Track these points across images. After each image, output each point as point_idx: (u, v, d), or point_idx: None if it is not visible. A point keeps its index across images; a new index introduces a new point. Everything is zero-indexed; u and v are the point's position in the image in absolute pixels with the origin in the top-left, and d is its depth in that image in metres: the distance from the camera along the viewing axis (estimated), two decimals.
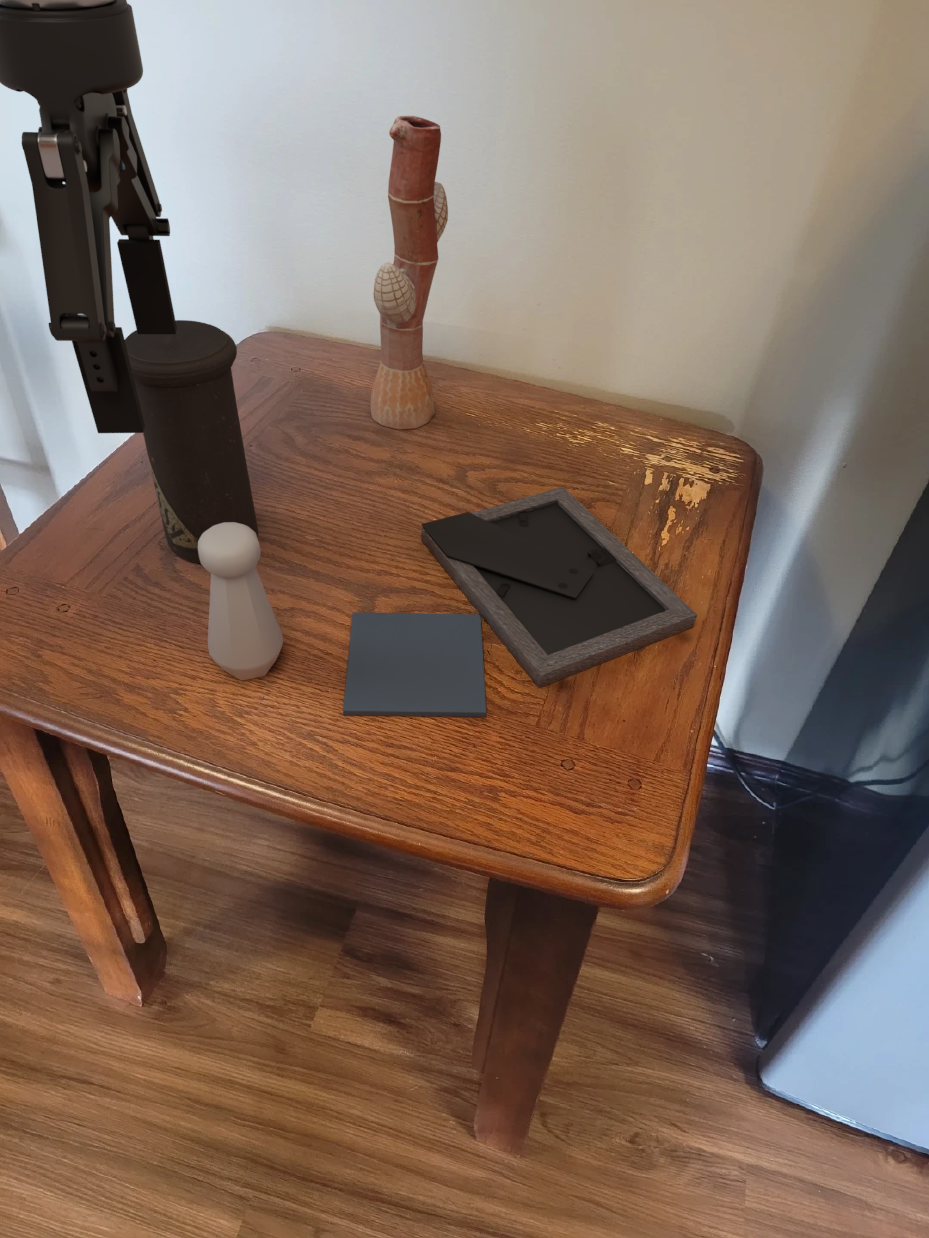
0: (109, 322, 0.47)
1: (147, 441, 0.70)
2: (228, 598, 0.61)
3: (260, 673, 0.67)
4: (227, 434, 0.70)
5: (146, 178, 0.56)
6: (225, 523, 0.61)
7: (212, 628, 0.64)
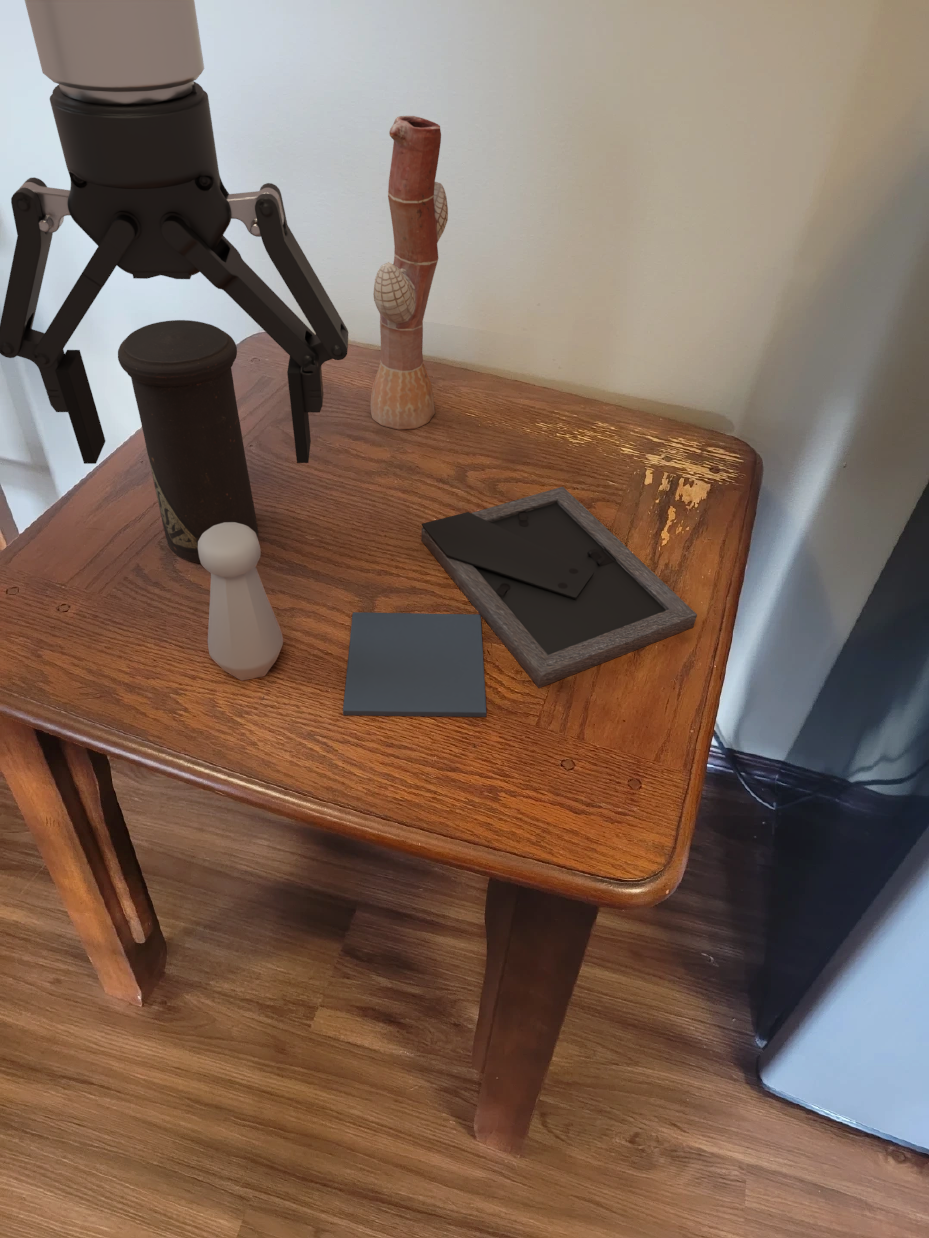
0: None
1: (147, 441, 0.70)
2: (228, 598, 0.61)
3: (260, 673, 0.67)
4: (227, 434, 0.70)
5: (39, 290, 0.50)
6: (225, 523, 0.61)
7: (212, 628, 0.64)
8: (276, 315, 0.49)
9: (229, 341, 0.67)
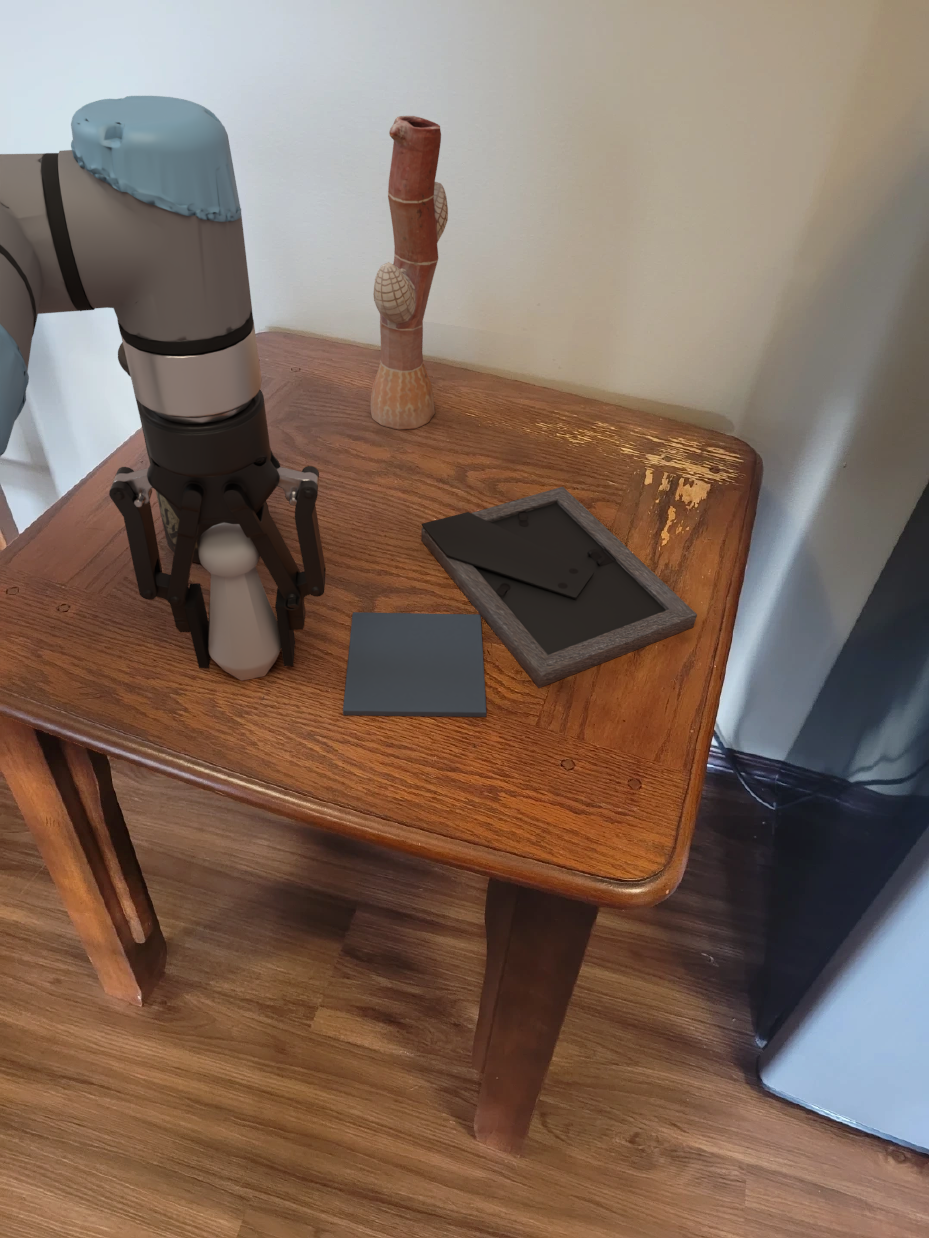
0: None
1: None
2: (228, 598, 0.61)
3: (260, 673, 0.67)
4: None
5: (156, 541, 0.61)
6: (225, 523, 0.61)
7: (212, 628, 0.64)
8: (283, 564, 0.60)
9: None
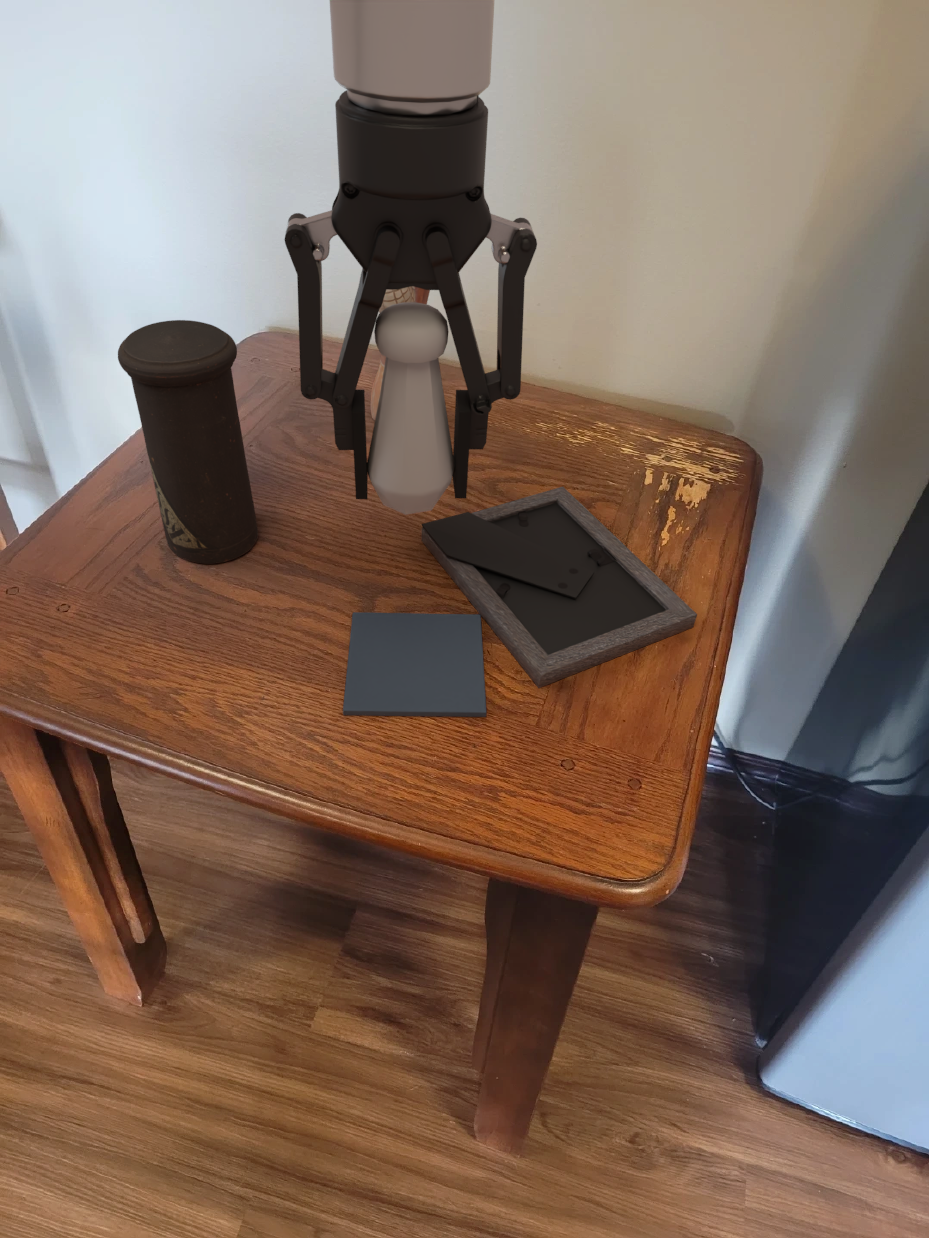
0: None
1: (147, 441, 0.70)
2: (407, 396, 0.51)
3: (428, 505, 0.56)
4: (227, 434, 0.70)
5: None
6: (406, 302, 0.50)
7: (380, 442, 0.53)
8: (477, 350, 0.50)
9: (229, 341, 0.67)
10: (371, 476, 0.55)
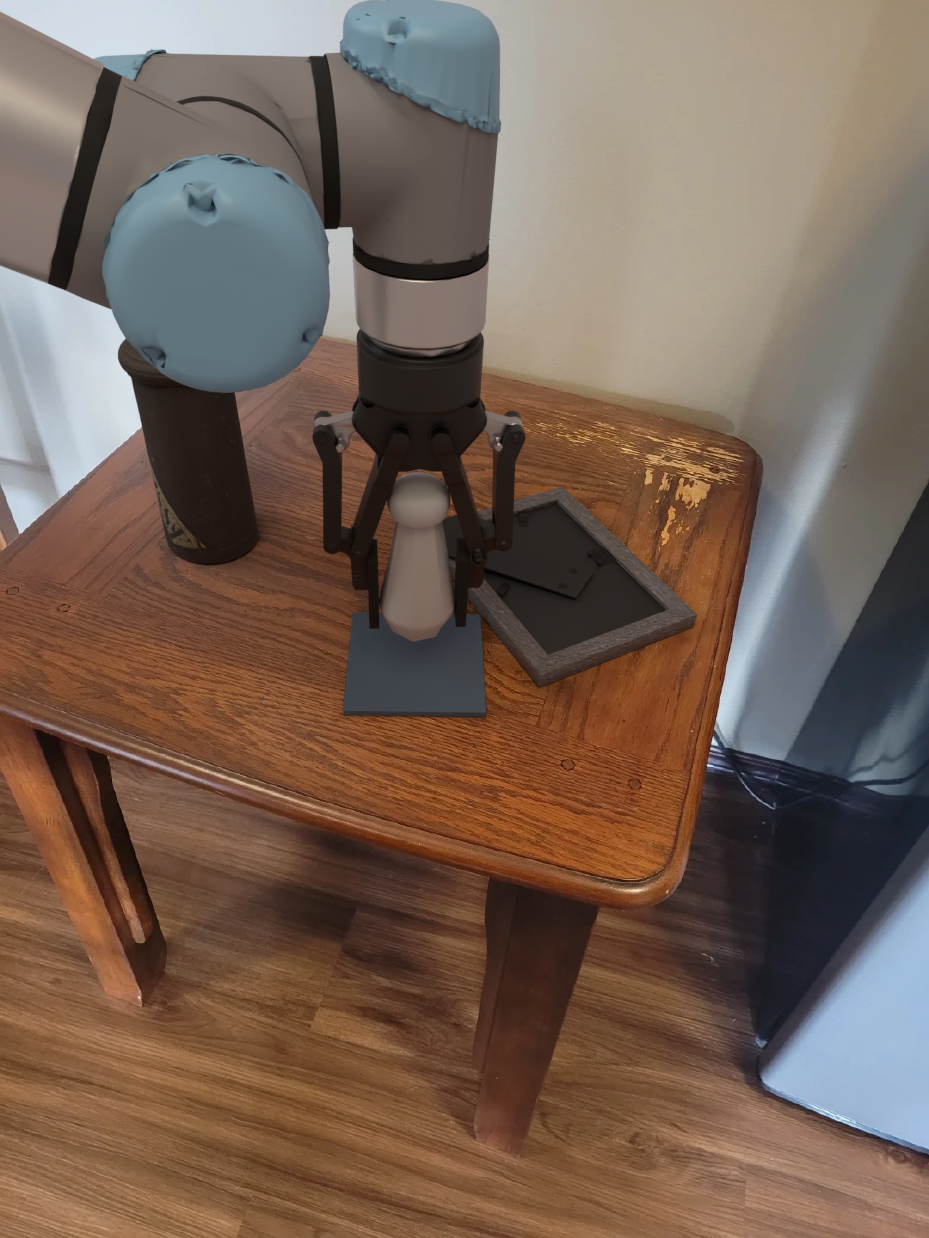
0: None
1: (147, 441, 0.70)
2: (415, 551, 0.59)
3: (432, 634, 0.64)
4: (227, 434, 0.70)
5: None
6: (414, 473, 0.58)
7: (391, 585, 0.61)
8: (475, 515, 0.58)
9: None
10: (383, 611, 0.63)
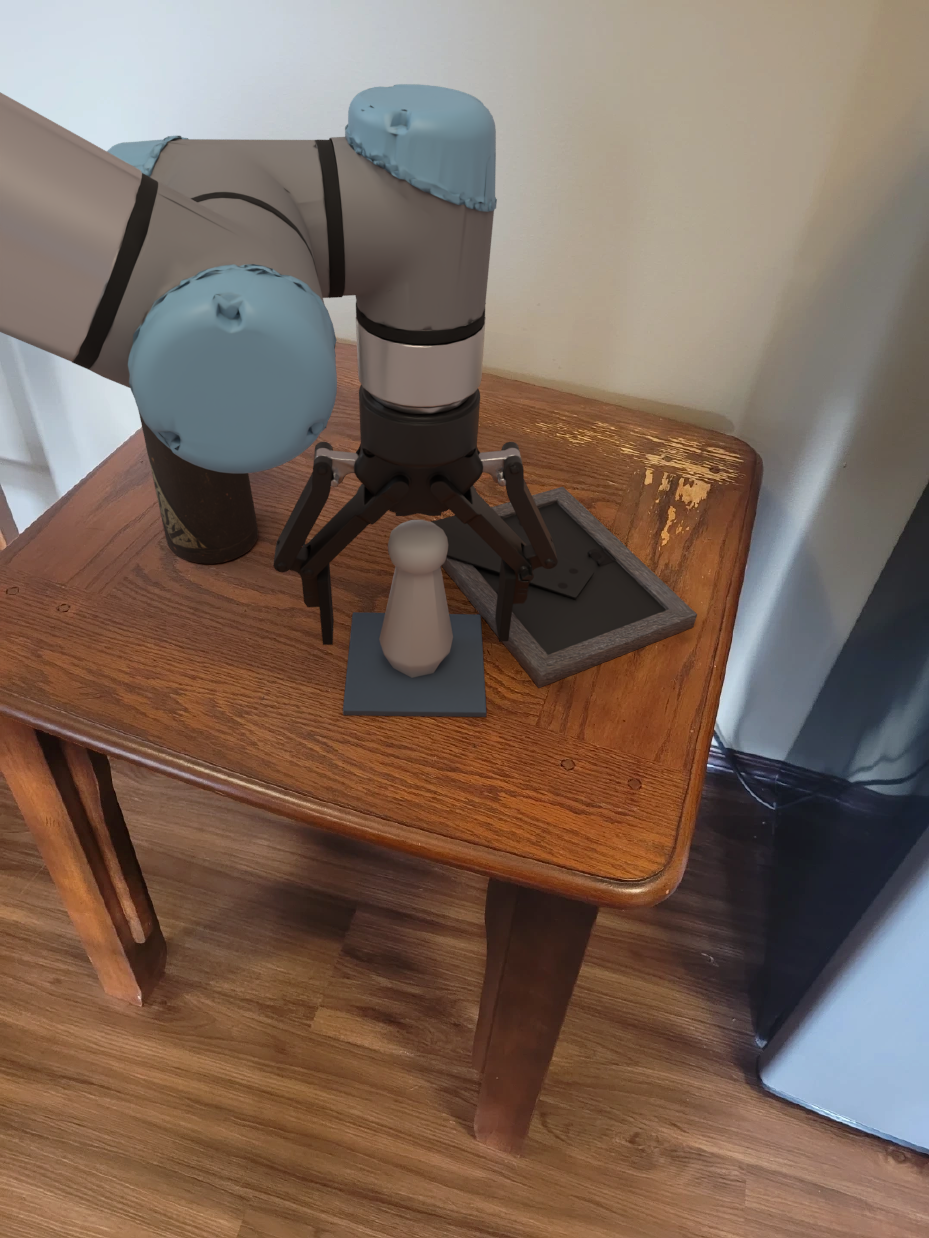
0: None
1: (147, 441, 0.70)
2: (414, 595, 0.62)
3: (431, 670, 0.67)
4: None
5: None
6: (413, 520, 0.61)
7: (391, 625, 0.64)
8: (505, 539, 0.60)
9: None
10: (383, 649, 0.66)
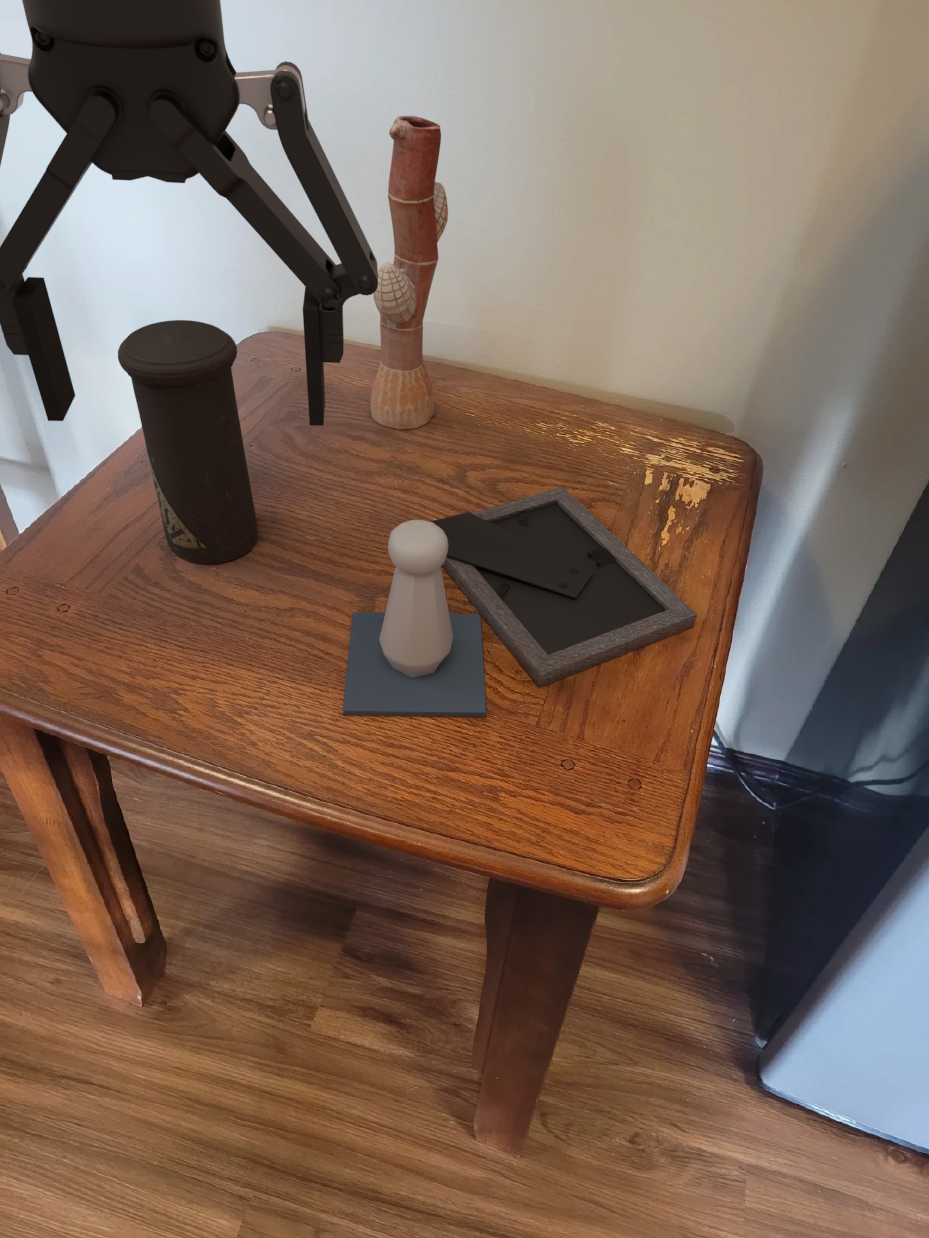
0: None
1: (147, 441, 0.70)
2: (414, 595, 0.62)
3: (431, 670, 0.67)
4: (227, 434, 0.70)
5: None
6: (413, 520, 0.61)
7: (391, 625, 0.64)
8: (291, 234, 0.40)
9: (229, 341, 0.67)
10: (383, 649, 0.66)
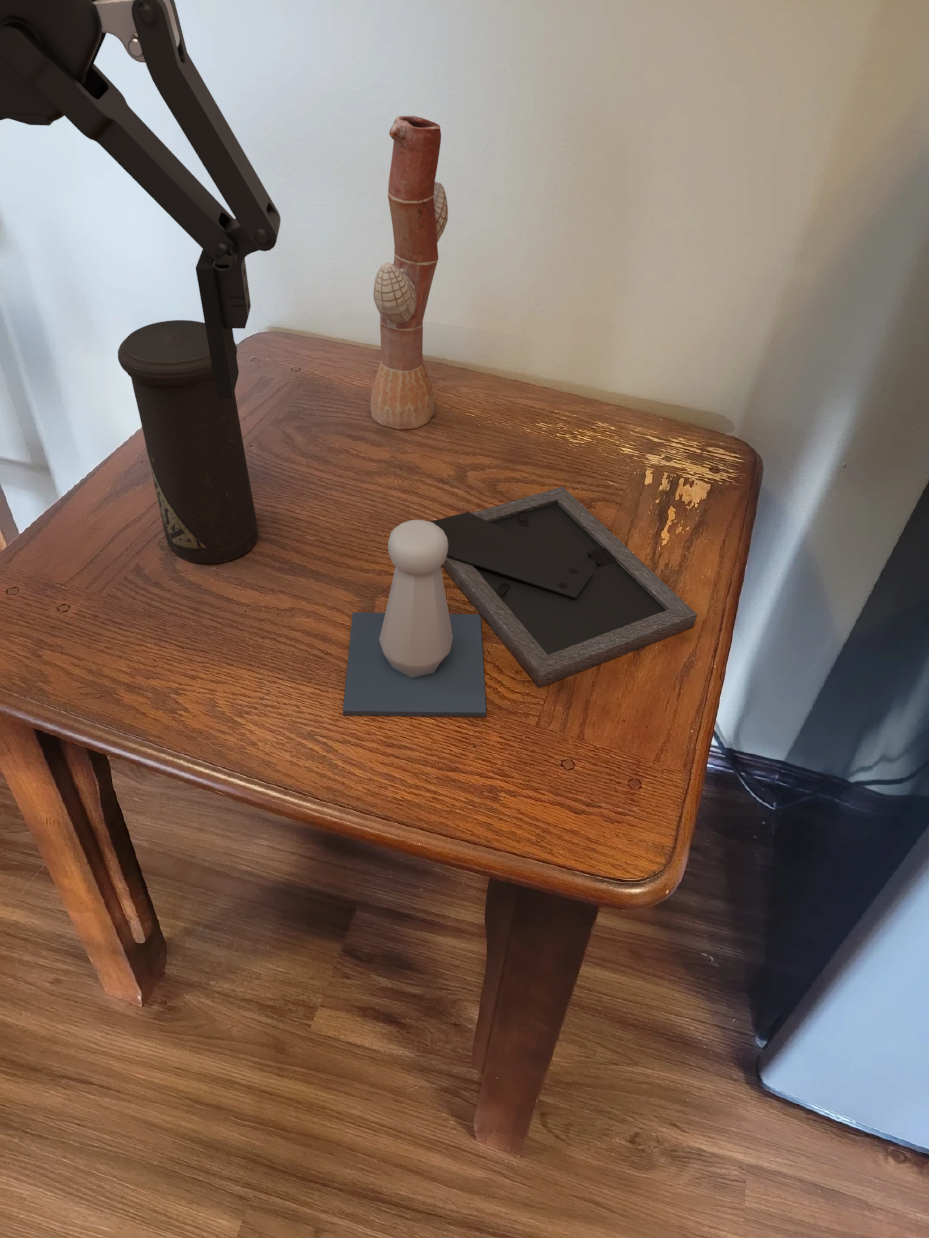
0: None
1: (147, 441, 0.70)
2: (414, 595, 0.62)
3: (431, 670, 0.67)
4: (227, 434, 0.70)
5: None
6: (413, 521, 0.61)
7: (391, 625, 0.64)
8: (174, 182, 0.36)
9: None
10: (383, 649, 0.66)
